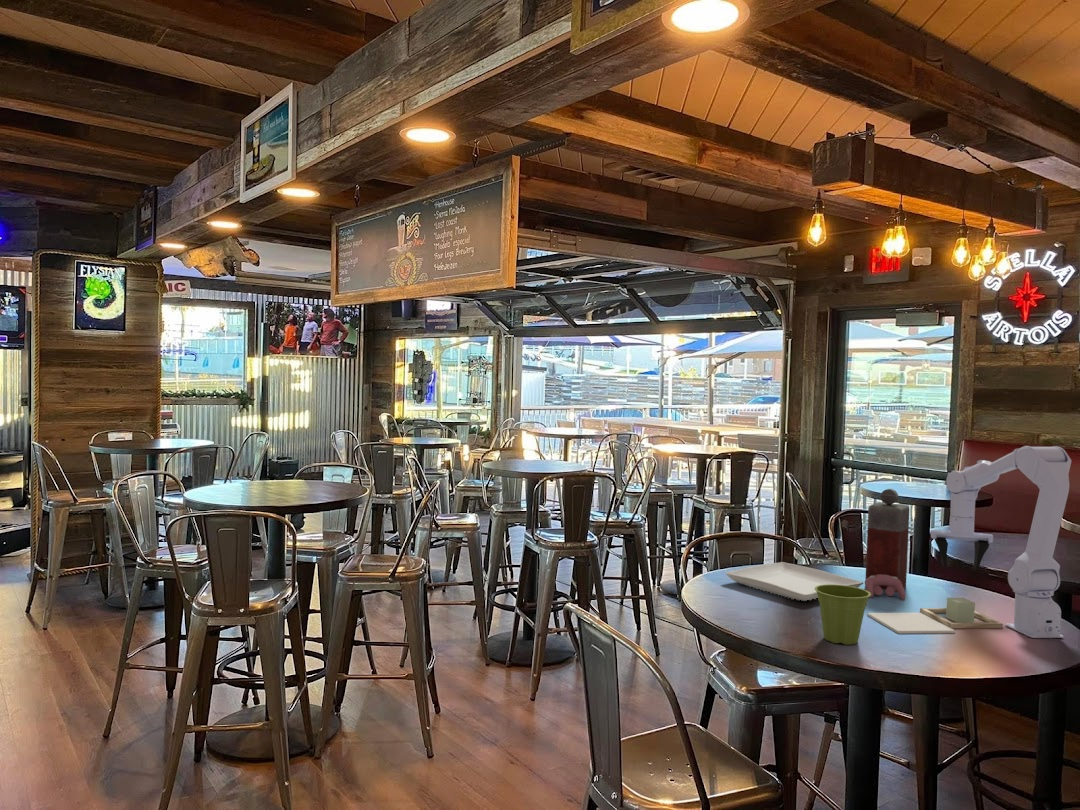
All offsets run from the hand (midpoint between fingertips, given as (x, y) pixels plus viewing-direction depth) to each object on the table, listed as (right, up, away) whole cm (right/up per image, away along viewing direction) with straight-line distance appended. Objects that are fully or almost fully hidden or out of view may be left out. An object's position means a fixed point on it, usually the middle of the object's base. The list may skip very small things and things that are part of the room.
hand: (960, 567), depth 210 cm
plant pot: (-44, -10, -32) cm, 55 cm away
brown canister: (-12, -9, +18) cm, 23 cm away
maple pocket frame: (-8, -10, -14) cm, 19 cm away
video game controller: (-18, -9, +6) cm, 21 cm away
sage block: (-8, -10, -14) cm, 19 cm away
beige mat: (-22, -10, -19) cm, 31 cm away
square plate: (-41, -9, +13) cm, 43 cm away
